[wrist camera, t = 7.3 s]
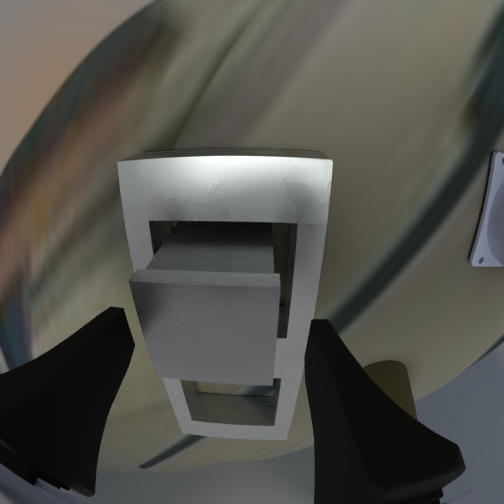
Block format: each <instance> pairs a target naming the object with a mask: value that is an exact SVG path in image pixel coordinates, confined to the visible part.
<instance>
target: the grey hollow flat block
mask: <svg viewBox="0 0 504 504" xmlns="http://www.w3.org/2000/svg"><path fill="white" fill-rule="evenodd" d="M117 164H118V174H119V183H120V192H121V200H122V207H123V215H124V221H125V228H126V234H127V240H128V245H129V251H130V256H131V261H132V266H133V271H134V273H135V272H136V271H137V269H145V268H146V267H147V265H148V264H149V263H150V261H151V260H152V258H153V257H154V256H155V254H156V253H157V251H158V250H159V249H160V247H161V246H162V244H163V243H164V242H165V240H166V239H167V238H168V236H169V235H170V234H171V232H172V229H171V221H238V222H275V223H291V224H290V239H289V253H288V266H287V278H286V290H285V301H284V305H279V316H278V329H277V341H276V353H275V365H274V376H273V378H276V386H275V394H274V397H257V396H236V395H221V394H209V393H199V392H198V390H197V386H196V381H188V380H179V379H171V378H164V377H162V378H163V381H164V384H165V387H166V390H167V393H168V396H169V399H170V401H171V404H172V407H173V409H174V412H175V415H176V417H177V420H178V422H179V425H180V427H181V430H182V432H183V433H186V434H194V435H202V436H211V437H221V438H234V439H254V440H287V436H288V433H289V429H290V425H291V421H292V417H293V413H294V409H295V405H296V400H297V396H298V392H299V387H300V383H301V378H302V374H303V369H304V356H305V351H306V345H307V340H308V335H309V329H310V324H311V319H313V317H314V312H315V306H316V300H317V294H318V287H319V281H320V274H321V267H322V260H323V253H324V245H325V237H326V229H327V220H328V211H329V201H330V191H331V180H332V167H333V160H332V159H330V158H329V157H327V156H326V155H324V154H323V153H321V152H320V151H307V150H290V149H263V148H208V149H181V150H164V151H151V152H142V153H140V154H137V155H134V156H131V157H129V158H126V159H123V160H121V161H118V162H117Z"/></svg>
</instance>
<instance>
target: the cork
mask: <svg viewBox="0 0 504 504" xmlns="http://www.w3.org/2000/svg"><path fill="white" fill-rule="evenodd" d="M363 369H364V371H365V372H366V373H367V374H368V375H369V376H370V378H371V379H372V380H373V381H374V382H375V383H376V384H377V385H378V386H379V388H380V389H381V390H382V391H383V392H384V393H385V394H386V395H387V396H388V397H389V398H391V399H392V400H393V401H394V402H395V403H396V404H397V405H398V406H399V407H401V408H402V409H403V410H404V411H406V412H407V413H408V414H409V415H411V416H412V417H413V418H414V419H416V420H417V415H416V410H415V405H414V400H413V395H412V390H411V386H410V381H409V377H408V372H407V369H406V367H405V365H404V364H402V363H400V362H398V361H391V360H390V361H382V362H378V363H374V364H371V365H368V366H366V367H364V368H363Z"/></svg>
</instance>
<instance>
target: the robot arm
mask: <svg viewBox="0 0 504 504" xmlns="http://www.w3.org/2000/svg"><path fill="white" fill-rule="evenodd" d="M502 159H503V162H502ZM469 262H470V264H471V265H472V266H474V267H504V153H501V152H498V151H495V152H494V153H493V155H492V161H491V169H490V175H489V181H488V187H487V192H486V197H485V202H484V207H483V211H482V216H481V220H480V224H479V228H478V231H477V235H476V239H475V242H474V246H473V249H472V252H471V255H470V259H469ZM134 347H135V343H134V340H133V337H132V334H131V331H130V328H129V325H128V322H127V318H126V315H125V312H124V308H118V307H109V308H108V309H106V310H105V311H103V312H102V313H101V314H99V315H98V316H96V317H95V318H94V319H92V320H91V321H90V322H88V323H87V324H86V325H84V326H83V327H82V328H80V329H79V330H78V331H76V332H75V333H74V334H72V335H71V336H70V337H68V338H67V339H65V340H64V341H62V342H61V343H60V344H58V345H57V346H55V347H54V348H52V349H51V350H49V351H48V352H46V353H44V354H43V355H41V356H39V357H37V358H36V359H34V360H32V361H30V362H28V363H26V364H24V365H22V366H20V367H17V368H15V369H13V370H11V371H8V372H6V373H3V374H0V504H90V503H88V502H85V501H83V500H81V499H79V498H76V497H74V496H72V495H70V494H68V493H66V492H64V491H62V490H60V487H62V488H64V489H66V490H68V491H69V489H71V490H73V491H76V492H78V493H80V494H82V495H84V496H87V497H90V496H93V495H94V494H95V482H96V469H97V462H98V455H99V449H100V445H101V440H102V435H103V431H104V427H105V424H106V420H107V416H108V414H109V411H110V408H111V406H112V404H113V401H114V399H115V397H116V394H117V392H118V390H119V388H120V385H121V383H122V381H123V379H124V376H125V374H126V372H127V369H128V367H129V364H130V361H131V358H132V354H133V351H134ZM304 364H305V382H306V388H307V394H308V401H309V407H310V413H311V419H312V425H313V433H314V447H315V491H314V504H440V500H439V499H440V498H442V497H443V491H442V487H444V486H446V485H447V484H448V483H450V482H452V481H453V480H455V479H456V478H458V477H459V476H460V475H461V474H462V473H463V472H464V471H465V468H466V467H465V464H464V461H463V457H462V454H461V451H460V449H459V447H458V445H457V444H455V443H453V442H451V441H450V440H448V439H446V438H444V437H442V436H440V435H438V434H437V433H435V432H433V431H432V430H430V429H429V428H427V427H426V426H424V425H423V424H421V423H420V422H419V421H417V420H416V419H414V418H413V417H412V416H411V415H409V414H408V413H407V412H406V411H404V410H403V409H402V408H401V407H399V406H398V405H397V404H396V403H395V402H394V401H393V400H392V399H391V398H389V397H388V396H387V395H386V394H385V393H384V392H383V391H382V390H381V389H380V388H379V386H378V385H377V384H376V383H375V382H374V381H373V380H372V379H371V378H370V376H369V375H368V374H367V373H366V372H365V371H364V369H363V368H362V367H361V366H360V364H359V363H358V362H357V360H356V359H355V358H354V356H353V355H352V354H351V353H350V351H349V350H348V348H347V347H346V346H345V344H344V343H343V341H342V340H341V338H340V337H339V335H338V334H337V332H336V331H335V329H334V328H333V326H332V325H331V323H330V322H329V321H328V319H311V324H310V329H309V335H308V340H307V345H306V351H305V356H304ZM443 504H478V500H477V496H476V492H475V490H471V491H469V492H467V493H465V494H463V495H461V496H458V497H456V498H454V499H452V500H449V501H447V502H445V503H443Z"/></svg>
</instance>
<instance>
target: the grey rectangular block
mask: <svg viewBox="0 0 504 504" xmlns="http://www.w3.org/2000/svg"><path fill="white" fill-rule="evenodd" d="M129 283H130V287H131V291H132V295H133V299H134V303H135V307H136V310H137V314H138V318H139V321H140V325H141V328H142V331H143V335H144V338H145V341H146V344H147V348H148V351H149V354H150V357H151V360H152V363H153V366H154V369H155V372H156V374H157V377H164V378H171V379H179V380H188V381H198V382H209V383H222V384H239V385H273V376H274V365H275V353H276V341H277V329H278V316H279V302H280V288H281V287H280V274H279V273H274V256H273V237H272V222H238V221H179V223H178V224H177V225H176V227H175V228H174V229H173V231H172V232H171V234H170V235H169V236H168V238H167V239H166V240H165V242H164V243H163V244H162V246H161V247H160V249H159V250H158V251H157V253H156V254H155V256H154V257H153V258H152V260H151V261H150V263H149V264H148V265H147V267H146V268H145V269H137V271H136V272H135V273H134V275H133V276H132V278H131V279H130V280H129Z"/></svg>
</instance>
